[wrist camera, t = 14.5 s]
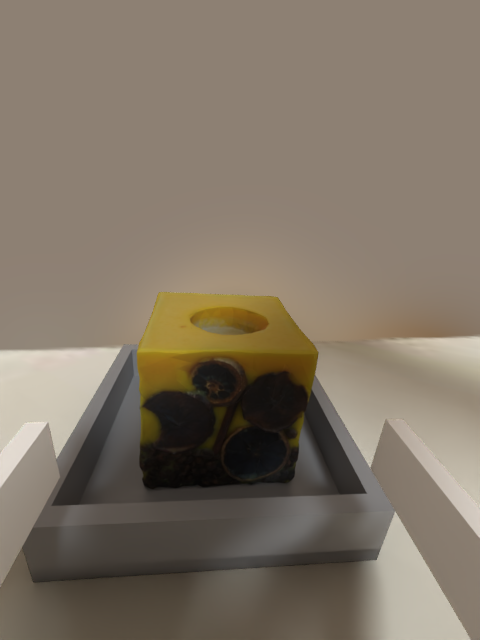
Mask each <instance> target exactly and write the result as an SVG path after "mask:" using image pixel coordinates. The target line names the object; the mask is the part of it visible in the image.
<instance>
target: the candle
mask: <svg viewBox="0 0 480 640" xmlns="http://www.w3.org/2000/svg"><path fill="white" fill-rule="evenodd" d="M317 359H318V351H317V349H316V348H315V346H314V345H313V343H312V342H311V341H310V340H309V339H308V338H307V337H306V336H305V334H304V333H303V332H302V331H301V330H300V329H299V327H298V326H297V325H296V323H295V322H294V321H293V319H292V318H291V317H290V315H289V314H288V313H287V311H286V310H285V308H284V306H283V305H282V303H281V302H280V300H279V299H278V297H272V296H245V295H219V294H198V293H170V292H159V294H158V296H157V300H156V302H155V306H154V309H153V312H152V315H151V317H150V320H149V323H148V325H147V328H146V330H145V333H144V335H143V337H142V339H141V341H140V343H139V346H138V350H137V369H138V373H139V377H140V380H139V391H140V408H139V409H140V414H141V437H140V455H139V466H140V468H141V470H142V472H143V478H142V481H143V484H144V486H145V487H147V488H150V489H154V488H156V487H172V488H178V487H182V486H194V485H199V486H201V487H210V486H219V485H231V484H249V485H252V484H255V483H258V482H263V483H274V482H278V483H287V482H290V481H291V480H292V479H293V478H294V476H295V467H296V461H297V460H298V454H299V438H300V433H301V429H302V425H303V422H304V412H305V411H306V410H307V404H308V402H309V398H310V394H311V390H312V385H313V381H314V376H315V371H316V365H317Z"/></svg>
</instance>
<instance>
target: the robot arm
mask: <svg viewBox="0 0 480 640" xmlns="http://www.w3.org/2000/svg"><path fill="white" fill-rule="evenodd" d="M371 470H372V472H373V474H374V475H375V477H376V479H377V481H378V482H379V484H380V486H381V487H382V489H383V491H384V492H385V494H386V496H387V498H388V499H389V501H390V503H391V504H392V506H393V508H394V509H395V511H396V513H397V515H398V516H399V518H400V520H401V521H402V523H403V525H404V526H405V528H406V530H407V532H408V533H409V535H410V537H411V538H412V540H413V542H414V543H415V545H416V547H417V549H418V550H419V552H420V554H421V555H422V557H423V559H424V560H425V562H426V564H427V566H428V567H429V569H430V571H431V572H432V574H433V576H434V577H435V579H436V581H437V583H438V584H439V586H440V588H441V589H442V591H443V593H444V594H445V596H446V598H447V600H448V601H449V603H450V605H451V606H452V608H453V610H454V611H455V613H456V615H457V616H458V618H459V620H460V622H461V623H462V625H463V627H464V628H465V630H466V632H467V633H468V635H469V637H470V639H471V640H480V507H479V506H478V505H477V504H476V503H475V501H474V500H473V499H472V498H471V497H470V496H469V494H468V493H467V492H466V491H465V490H464V489H463V488H462V486H461V485H460V484H459V483H458V482H457V481H456V479H455V478H454V477H453V476H452V475H451V474H450V473H449V471H448V470H447V469H446V468H445V467H444V466H443V464H442V463H441V462H440V461H439V460H438V459H437V458H436V456H435V455H434V454H433V453H432V452H431V451H430V450H429V448H428V447H427V446H426V445H425V444H424V443H423V441H422V440H421V439H420V438H419V437H418V436H417V435H416V433H415V432H414V431H413V430H412V429H411V428H410V426H409V425H408V424H407V423H406V422H405V421H404V420H403V419H386V420H385V423H384V427H383V430H382V433H381V436H380V440H379V443H378V446H377V449H376V452H375V456H374V459H373V462H372V465H371ZM59 478H60V474H59V469H58V465H57V460H56V456H55V451H54V446H53V442H52V437H51V432H50V428H49V423H48V422H25V424H24V425H23V426H22V427H21V429H20V430H19V431H18V432H17V433H16V435H15V436H14V437H13V438H12V439H11V441H10V442H9V443H8V444H7V445H6V447H5V448H4V449H3V450H2V452H1V453H0V587H1V585H2V583H3V581H4V580H5V578H6V576H7V574H8V572H9V570H10V569H11V567H12V565H13V563H14V561H15V559H16V557H17V556H18V554H19V552H20V550H21V548H22V546H23V545H24V543H25V541H26V539H27V537H28V535H29V533H30V532H31V530H32V528H33V526H34V524H35V522H36V521H37V519H38V517H39V515H40V513H41V511H42V509H43V508H44V506H45V504H46V502H47V500H48V498H49V497H50V495H51V493H52V491H53V489H54V487H55V485H56V484H57V482H58V480H59Z"/></svg>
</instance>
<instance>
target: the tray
mask: <svg viewBox="0 0 480 640" xmlns="http://www.w3.org/2000/svg"><path fill="white" fill-rule="evenodd" d="M138 346H139V345H126V344H124V345H123V347H122V349H121V350H120V352H119V354H118V355H117V357H116V359H115V361H114V362H113V364H112V366H111V367H110V369H109V371H108V373H107V374H106V376H105V378H104V379H103V381H102V383H101V384H100V386H99V388H98V390H97V391H96V393H95V395H94V396H93V398H92V400H91V401H90V403H89V405H88V407H87V408H86V410H85V412H84V413H83V415H82V417H81V419H80V420H79V422H78V424H77V425H76V427H75V429H74V430H73V432H72V434H71V436H70V437H69V439H68V441H67V442H66V444H65V446H64V447H63V449H62V451H61V453H60V454H59V456H58V458H57V459H56V460H57V465H58V469H59V474H60V478H59V480H58V482H57V484H56V485H55V487H54V489H53V491H52V493H51V495H50V497H49V498H48V500H47V502H46V504H45V506H44V508H43V509H42V511H41V513H40V515H39V517H38V519H37V521H36V522H35V524H34V526H33V528H32V530H31V532H30V533H29V535H28V537H27V539H26V541H25V543H24V545H23V546H22V548H23V552H24V555H25V558H26V561H27V564H28V567H29V570H30V573H31V576H32V579H33V582H42V581H58V580H73V579H88V578H104V577H119V576H134V575H150V574H165V573H180V572H196V571H211V570H226V569H242V568H257V567H272V566H288V565H303V564H318V563H334V562H349V561H364V560H377V557H378V554H379V552H380V549H381V547H382V544H383V541H384V539H385V536H386V533H387V531H388V528H389V526H390V523H391V520H392V518H393V515H394V512H395V510H394V508H393V506H392V505H391V503H390V501H389V500H388V498H387V496H386V494H385V493H384V491H383V489H382V488H381V486H380V484H379V483H378V481H377V479H376V478H375V476H374V474H373V472H372V471H371V469H370V467H369V466H368V464H367V462H366V461H365V459H364V457H363V455H362V454H361V452H360V450H359V449H358V447H357V445H356V444H355V442H354V440H353V439H352V437H351V435H350V433H349V432H348V430H347V428H346V427H345V425H344V423H343V422H342V420H341V418H340V417H339V415H338V413H337V411H336V410H335V408H334V406H333V405H332V403H331V401H330V400H329V398H328V396H327V394H326V393H325V391H324V389H323V388H322V386H321V384H320V383H319V381H318V379H317V378H316V376H314V381H313V385H312V390H311V394H310V398H309V402H308V404H307V410H306V411H305V412H304V422H303V425H302V429H301V433H300V438H299V454H298V460H297V461H296V467H295V476H294V478H293V479H292V480H291V481H290V482H287V483H278V482H274V483H263V482H258V483H255V484H252V485H249V484H231V485H219V486H210V487H201V486H199V485H194V486H182V487H178V488H172V487H156V488H154V489H150V488H147V487H145V486H144V484H143V481H142V478H143V472H142V470H141V468H140V466H139V455H140V437H141V414H140V409H139V408H140V391H139V380H140V377H139V373H138V369H137V350H138Z"/></svg>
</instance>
